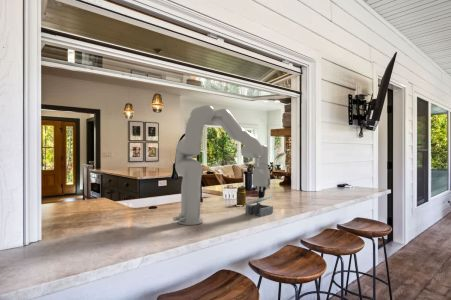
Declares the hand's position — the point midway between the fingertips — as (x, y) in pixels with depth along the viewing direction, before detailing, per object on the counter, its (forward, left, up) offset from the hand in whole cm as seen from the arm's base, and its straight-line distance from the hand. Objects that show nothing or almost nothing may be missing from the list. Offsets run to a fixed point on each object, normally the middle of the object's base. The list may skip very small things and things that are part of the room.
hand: (261, 198), depth 170 cm
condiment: (+13, +26, -9) cm, 30 cm away
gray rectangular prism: (0, +1, -9) cm, 9 cm away
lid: (0, +1, -2) cm, 2 cm away
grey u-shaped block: (0, +1, -9) cm, 9 cm away
